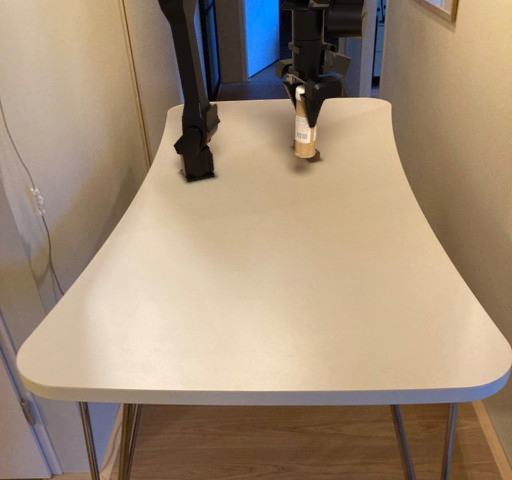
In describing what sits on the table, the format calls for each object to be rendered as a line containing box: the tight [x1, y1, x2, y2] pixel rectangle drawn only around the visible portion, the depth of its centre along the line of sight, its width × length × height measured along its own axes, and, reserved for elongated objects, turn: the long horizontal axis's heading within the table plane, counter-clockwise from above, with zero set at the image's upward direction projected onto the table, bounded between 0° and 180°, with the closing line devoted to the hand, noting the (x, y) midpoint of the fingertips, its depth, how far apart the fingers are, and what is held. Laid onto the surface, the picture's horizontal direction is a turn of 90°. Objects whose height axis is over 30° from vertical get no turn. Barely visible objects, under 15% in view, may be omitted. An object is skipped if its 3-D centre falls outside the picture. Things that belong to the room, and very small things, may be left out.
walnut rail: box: [292, 138, 321, 163], centre depth 131 cm, size 2×10×2 cm, turn 21°
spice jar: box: [293, 84, 318, 159], centre depth 110 cm, size 5×5×14 cm
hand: (307, 123), depth 110 cm, fingers closed on spice jar, 4 cm apart
